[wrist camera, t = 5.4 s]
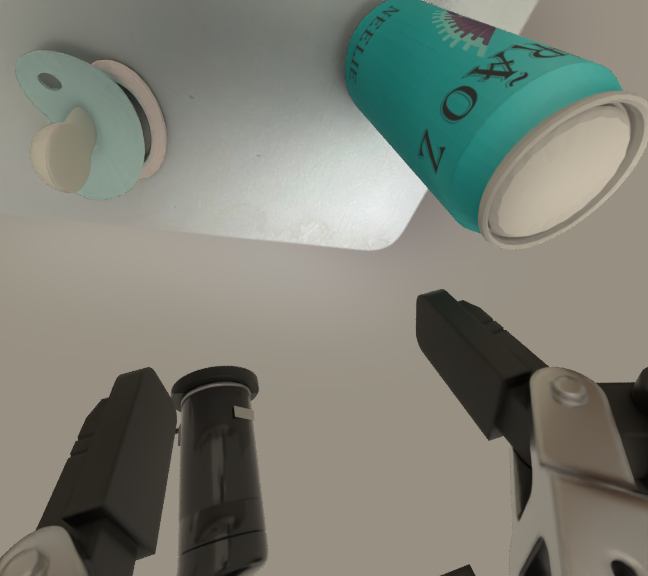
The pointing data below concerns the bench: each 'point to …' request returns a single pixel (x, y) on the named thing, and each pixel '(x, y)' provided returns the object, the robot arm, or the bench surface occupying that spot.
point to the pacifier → (91, 125)
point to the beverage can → (494, 120)
